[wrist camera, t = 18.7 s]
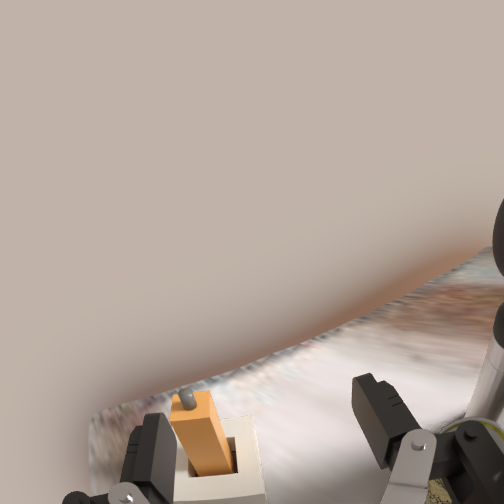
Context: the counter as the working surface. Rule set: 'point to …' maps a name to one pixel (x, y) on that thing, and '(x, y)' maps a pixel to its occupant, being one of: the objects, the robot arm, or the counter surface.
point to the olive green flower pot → (437, 493)
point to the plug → (201, 433)
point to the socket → (230, 485)
